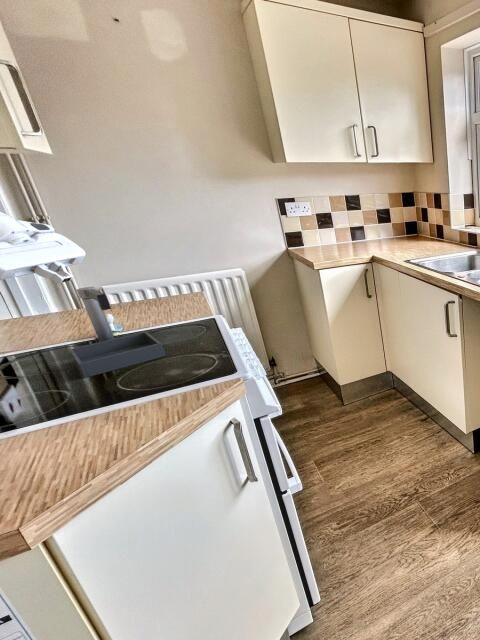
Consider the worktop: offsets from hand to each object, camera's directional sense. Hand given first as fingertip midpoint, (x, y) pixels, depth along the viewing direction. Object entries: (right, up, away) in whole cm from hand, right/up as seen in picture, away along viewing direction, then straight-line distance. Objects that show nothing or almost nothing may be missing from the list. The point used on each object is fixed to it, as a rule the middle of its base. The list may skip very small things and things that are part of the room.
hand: (66, 280), depth 100 cm
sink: (+7, -19, +6) cm, 21 cm away
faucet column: (-2, -16, +13) cm, 21 cm away
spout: (+2, -6, +6) cm, 8 cm away
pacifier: (-11, -13, +22) cm, 28 cm away
